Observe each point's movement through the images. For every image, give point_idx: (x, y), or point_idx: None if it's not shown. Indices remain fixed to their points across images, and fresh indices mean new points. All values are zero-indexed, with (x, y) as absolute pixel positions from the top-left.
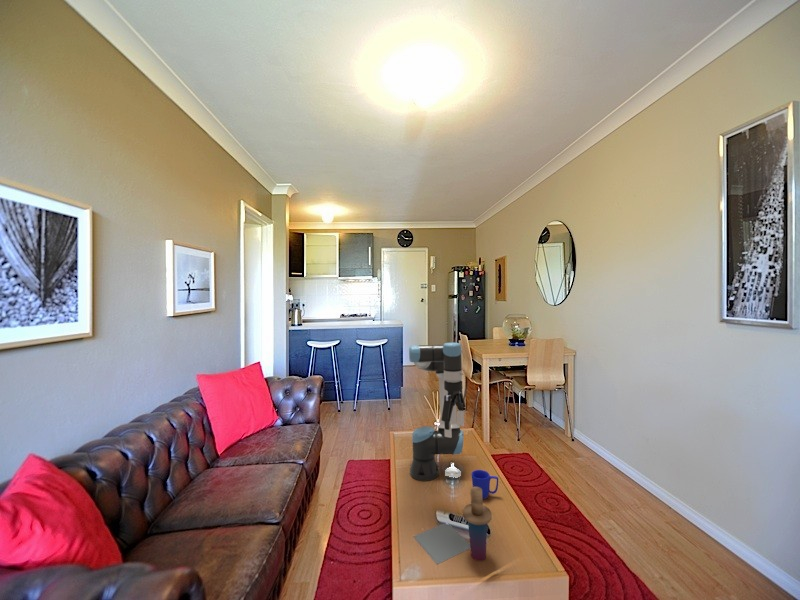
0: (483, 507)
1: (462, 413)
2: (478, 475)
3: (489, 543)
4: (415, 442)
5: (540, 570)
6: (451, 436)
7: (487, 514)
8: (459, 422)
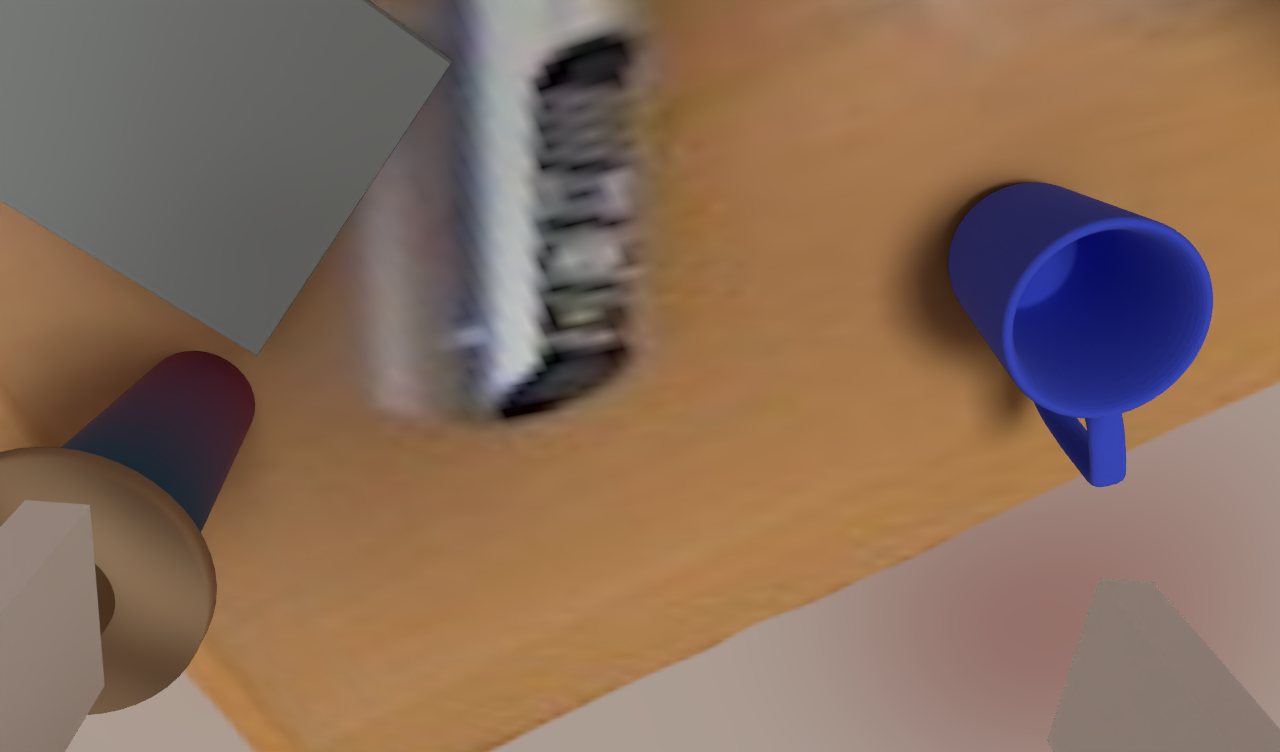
0: (170, 629)
1: None
2: (1159, 264)
3: (390, 439)
4: None
5: (302, 738)
6: (83, 700)
7: None
8: (1127, 703)
